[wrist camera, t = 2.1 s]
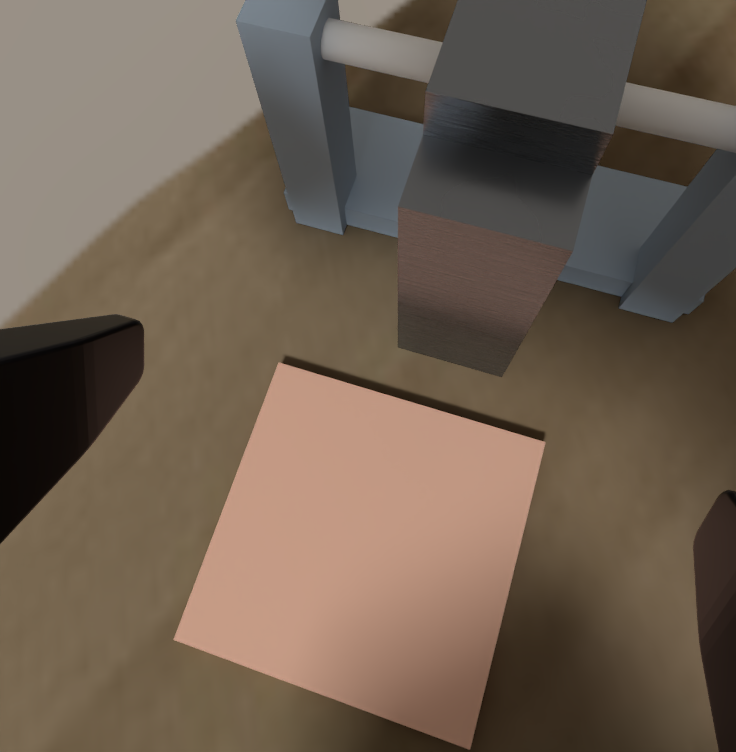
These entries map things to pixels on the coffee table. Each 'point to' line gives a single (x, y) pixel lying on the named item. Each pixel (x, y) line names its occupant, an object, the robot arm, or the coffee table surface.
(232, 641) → the terracotta mat
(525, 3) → the gray block
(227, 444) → the coffee table surface
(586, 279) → the rail stand
